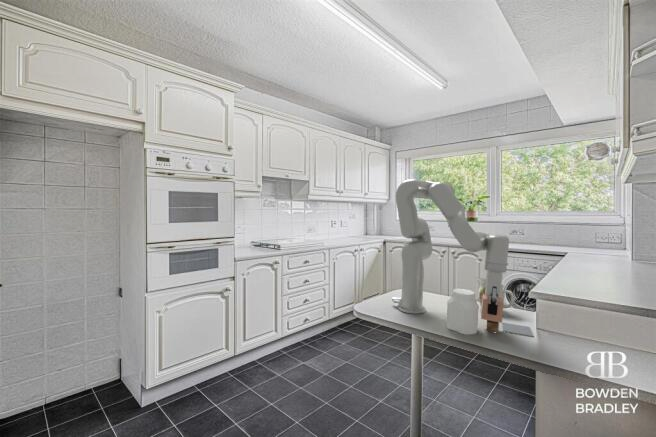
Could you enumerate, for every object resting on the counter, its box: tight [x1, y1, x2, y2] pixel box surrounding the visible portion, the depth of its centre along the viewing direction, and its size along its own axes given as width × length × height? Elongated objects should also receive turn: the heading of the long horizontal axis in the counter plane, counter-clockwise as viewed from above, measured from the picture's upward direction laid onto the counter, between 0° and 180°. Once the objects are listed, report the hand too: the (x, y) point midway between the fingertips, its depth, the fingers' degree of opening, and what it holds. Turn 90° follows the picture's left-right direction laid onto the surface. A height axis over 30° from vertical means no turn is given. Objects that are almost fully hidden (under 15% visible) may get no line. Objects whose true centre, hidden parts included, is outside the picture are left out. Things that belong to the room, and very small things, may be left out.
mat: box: [501, 321, 534, 338], centre depth 127 cm, size 10×10×1 cm
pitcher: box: [474, 277, 515, 309], centre depth 149 cm, size 11×18×14 cm, turn 40°
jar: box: [445, 288, 480, 335], centre depth 126 cm, size 12×10×15 cm
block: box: [486, 320, 500, 334], centre depth 125 cm, size 4×4×4 cm
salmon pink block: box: [480, 294, 504, 324], centre depth 125 cm, size 7×7×8 cm
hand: (491, 310), depth 125 cm, fingers closed on salmon pink block, 7 cm apart
